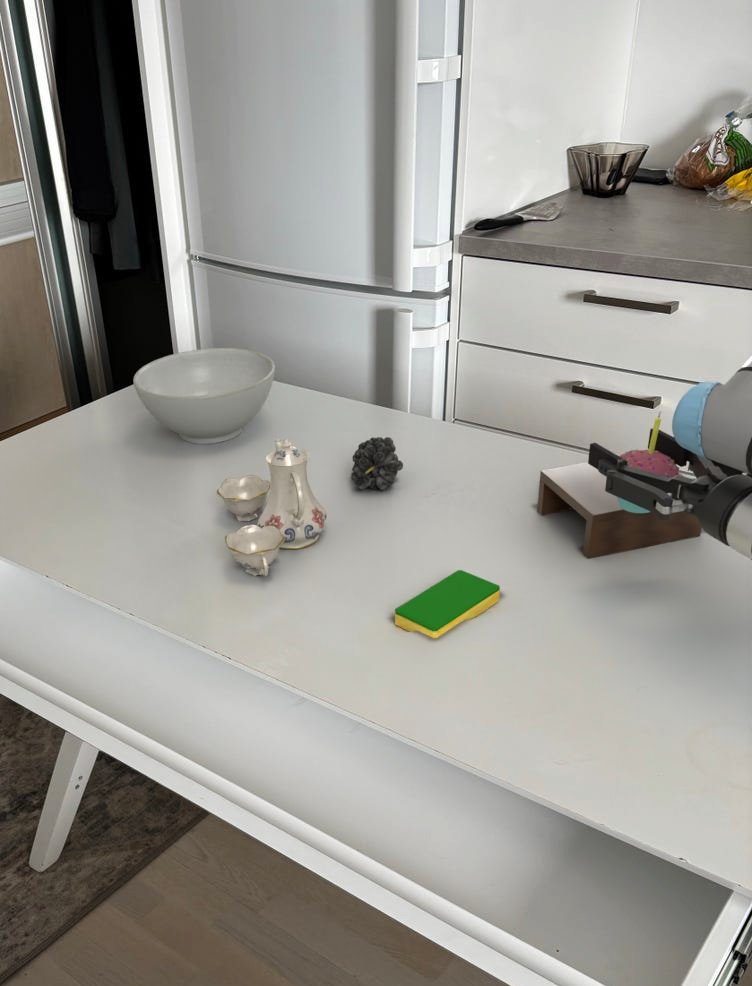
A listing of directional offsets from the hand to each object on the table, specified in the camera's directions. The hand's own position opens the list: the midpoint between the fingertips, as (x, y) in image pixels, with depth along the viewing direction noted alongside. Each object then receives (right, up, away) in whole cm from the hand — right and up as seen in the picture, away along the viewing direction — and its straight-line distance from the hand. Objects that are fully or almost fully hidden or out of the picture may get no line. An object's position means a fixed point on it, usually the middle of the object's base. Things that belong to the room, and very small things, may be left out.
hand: (621, 445), depth 125 cm
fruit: (-27, +3, +43) cm, 50 cm away
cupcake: (+2, -8, 0) cm, 8 cm away
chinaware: (-44, -9, +28) cm, 53 cm away
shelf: (+7, -7, +23) cm, 25 cm away
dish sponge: (-21, -21, +7) cm, 31 cm away
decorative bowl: (-57, +16, +66) cm, 88 cm away
